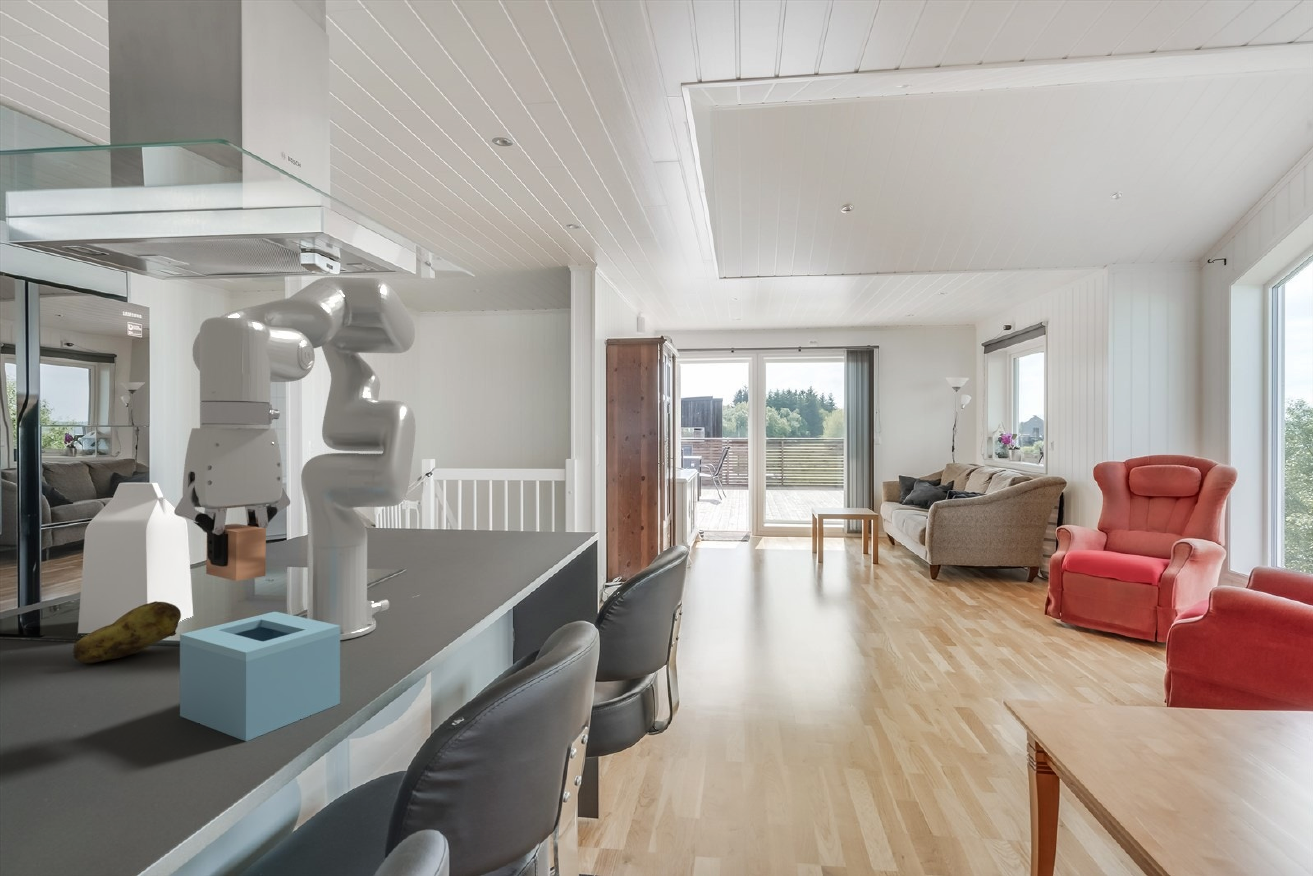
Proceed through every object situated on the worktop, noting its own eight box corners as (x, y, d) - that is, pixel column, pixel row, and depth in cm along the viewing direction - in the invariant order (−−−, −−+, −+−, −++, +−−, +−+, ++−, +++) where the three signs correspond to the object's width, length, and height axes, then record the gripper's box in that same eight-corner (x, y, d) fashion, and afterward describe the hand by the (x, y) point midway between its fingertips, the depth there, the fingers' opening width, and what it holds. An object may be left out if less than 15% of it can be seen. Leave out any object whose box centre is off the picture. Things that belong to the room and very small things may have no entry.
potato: (83, 655, 104) (83, 604, 104) (183, 642, 110) (183, 595, 110) (69, 672, 97) (69, 617, 96) (176, 657, 103) (176, 606, 103)
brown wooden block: (235, 569, 86) (235, 523, 86) (265, 575, 83) (265, 528, 83) (206, 573, 83) (206, 526, 83) (236, 581, 80) (236, 531, 80)
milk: (77, 635, 114) (77, 485, 114) (129, 616, 125) (129, 480, 125) (147, 635, 114) (148, 485, 114) (193, 616, 126) (193, 480, 126)
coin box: (274, 683, 92) (274, 611, 92) (340, 703, 86) (340, 625, 86) (180, 716, 82) (180, 634, 82) (246, 741, 75) (246, 652, 75)
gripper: (283, 418, 92) (283, 549, 92) (145, 416, 78) (145, 571, 78) (315, 418, 88) (315, 555, 88) (176, 415, 74) (177, 578, 74)
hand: (236, 561), depth 83 cm, fingers closed on brown wooden block, 3 cm apart
